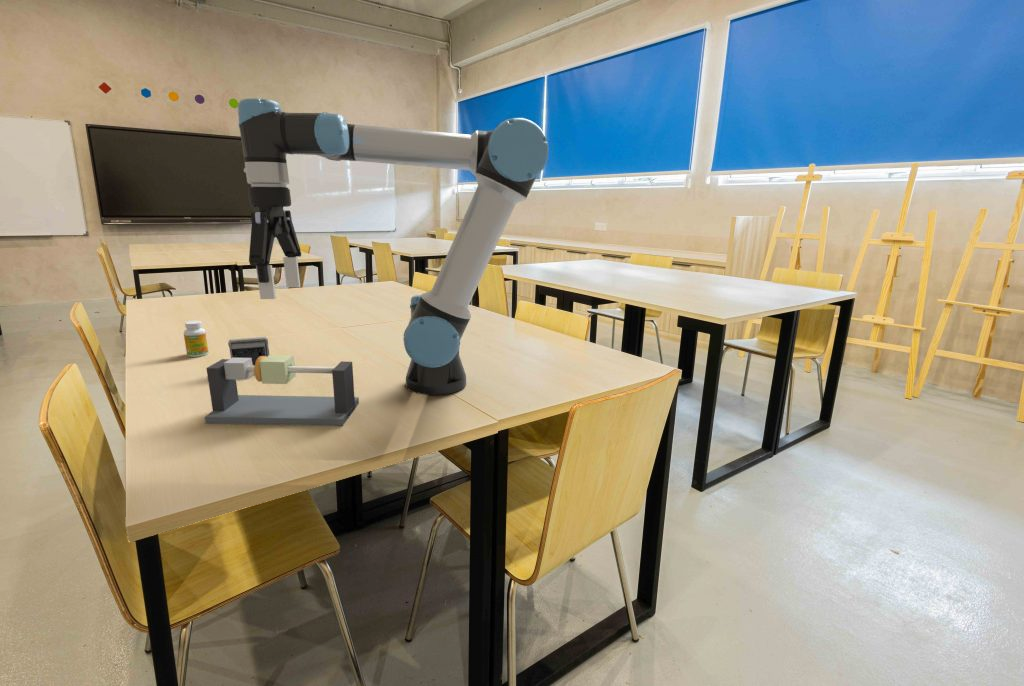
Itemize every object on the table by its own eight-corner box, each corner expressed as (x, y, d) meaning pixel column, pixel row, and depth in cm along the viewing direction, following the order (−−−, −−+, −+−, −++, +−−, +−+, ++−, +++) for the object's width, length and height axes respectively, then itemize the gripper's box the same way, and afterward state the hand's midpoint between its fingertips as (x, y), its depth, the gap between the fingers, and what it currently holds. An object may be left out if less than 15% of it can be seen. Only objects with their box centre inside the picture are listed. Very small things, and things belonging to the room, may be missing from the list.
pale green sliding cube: (295, 376, 111) (293, 355, 109) (286, 384, 106) (284, 362, 105) (272, 375, 111) (270, 354, 109) (262, 383, 106) (259, 361, 105)
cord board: (358, 403, 116) (355, 350, 113) (342, 425, 105) (338, 367, 101) (235, 401, 116) (228, 347, 112) (205, 423, 104) (196, 364, 101)
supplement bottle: (189, 358, 144) (183, 325, 142) (185, 354, 148) (180, 321, 146) (210, 355, 148) (205, 322, 145) (206, 350, 152) (201, 319, 149)
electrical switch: (271, 366, 140) (267, 334, 137) (271, 373, 136) (267, 341, 132) (233, 369, 137) (228, 337, 133) (231, 377, 132) (226, 344, 129)
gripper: (274, 187, 112) (285, 282, 118) (216, 184, 88) (234, 304, 94) (309, 187, 112) (318, 282, 118) (261, 184, 88) (276, 304, 94)
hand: (281, 292), depth 106 cm, fingers open, 13 cm apart
